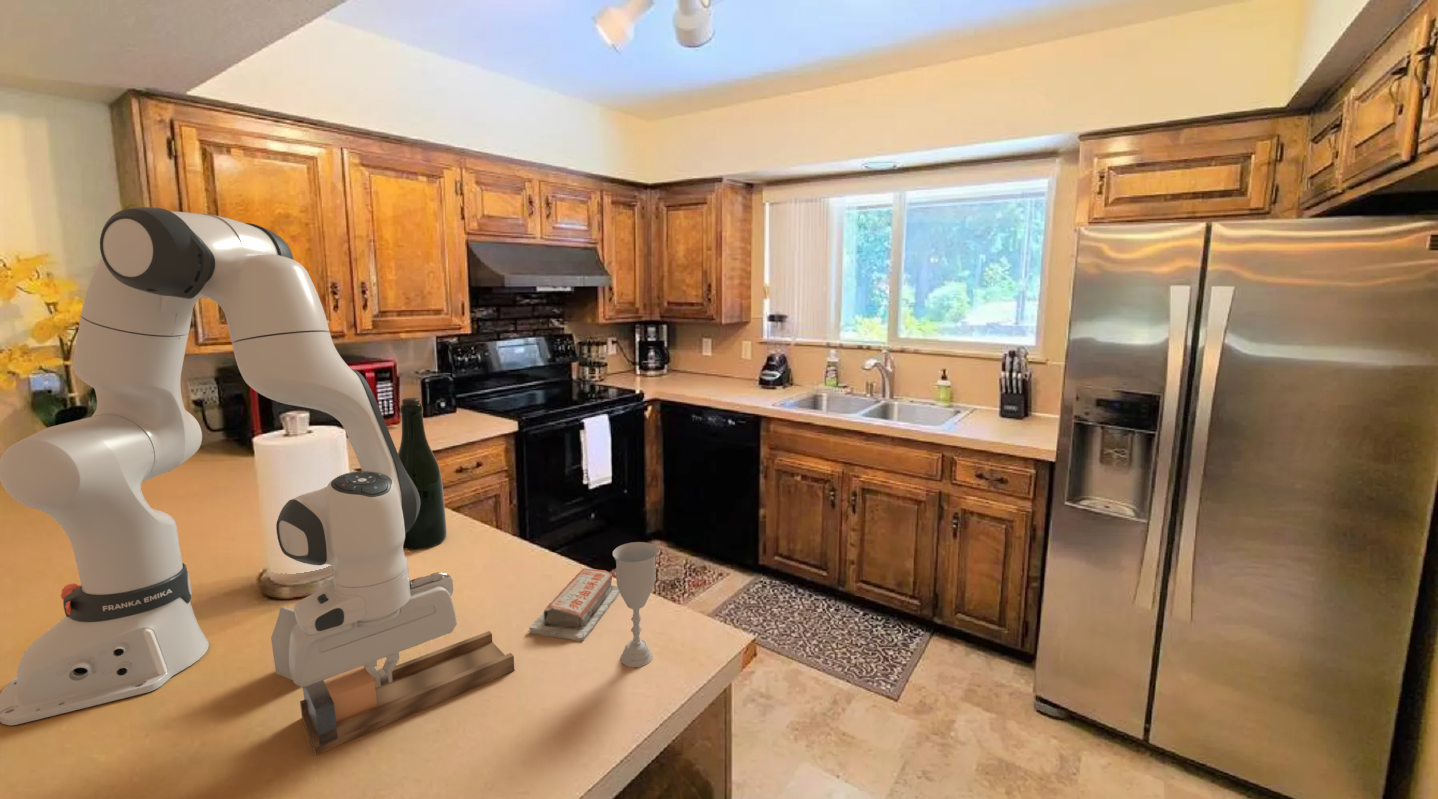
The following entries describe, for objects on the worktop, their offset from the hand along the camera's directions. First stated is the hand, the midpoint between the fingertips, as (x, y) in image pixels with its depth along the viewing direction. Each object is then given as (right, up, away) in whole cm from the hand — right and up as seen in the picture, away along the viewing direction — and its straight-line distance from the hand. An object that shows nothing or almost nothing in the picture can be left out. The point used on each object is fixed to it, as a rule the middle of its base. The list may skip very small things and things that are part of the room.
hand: (382, 683), depth 86 cm
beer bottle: (-20, +7, +54) cm, 58 cm away
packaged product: (+21, +1, +26) cm, 34 cm away
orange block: (-3, -4, -2) cm, 5 cm away
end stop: (-6, -3, -5) cm, 8 cm away
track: (+3, -3, +3) cm, 5 cm away
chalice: (+34, -2, +12) cm, 36 cm away
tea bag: (-16, -2, +7) cm, 18 cm away
